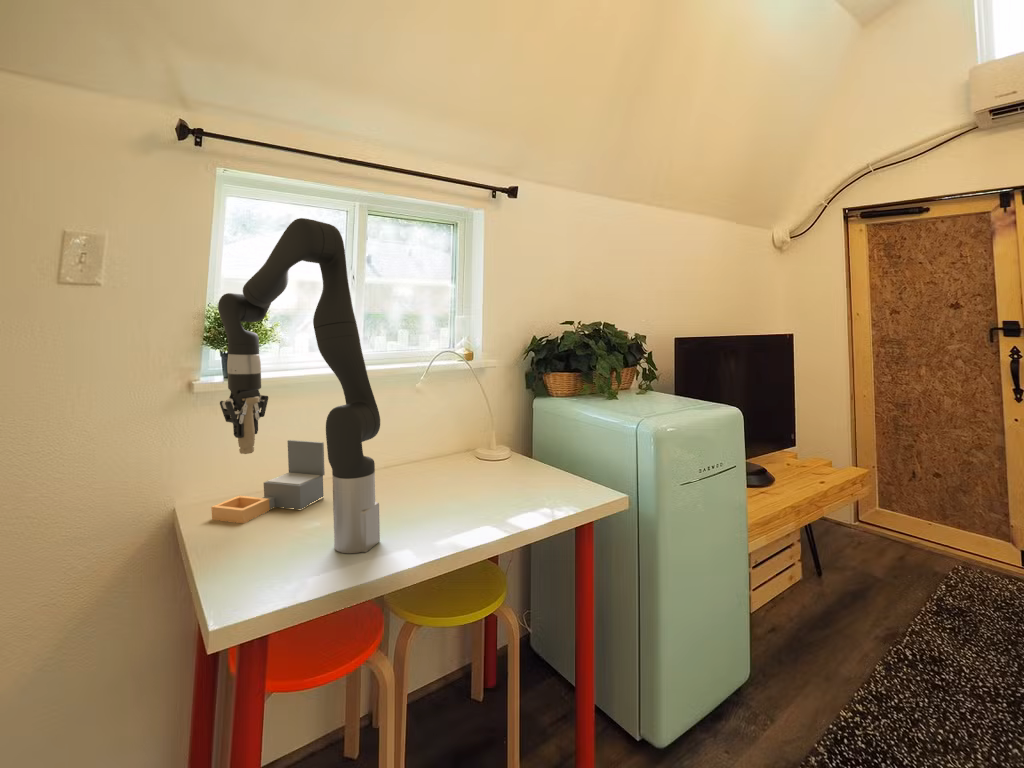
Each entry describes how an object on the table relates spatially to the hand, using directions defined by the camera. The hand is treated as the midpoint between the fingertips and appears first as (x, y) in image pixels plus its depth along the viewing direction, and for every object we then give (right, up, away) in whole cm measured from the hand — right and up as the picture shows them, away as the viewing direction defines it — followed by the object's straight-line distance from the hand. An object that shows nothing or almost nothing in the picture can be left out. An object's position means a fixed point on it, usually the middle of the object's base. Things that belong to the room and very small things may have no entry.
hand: (246, 435), depth 119 cm
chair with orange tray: (+3, -21, +8) cm, 23 cm away
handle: (0, -5, +1) cm, 5 cm away
